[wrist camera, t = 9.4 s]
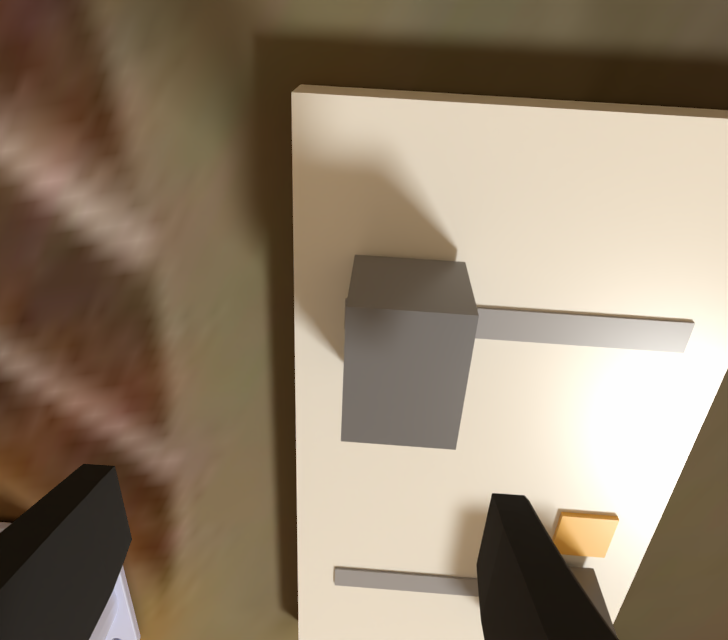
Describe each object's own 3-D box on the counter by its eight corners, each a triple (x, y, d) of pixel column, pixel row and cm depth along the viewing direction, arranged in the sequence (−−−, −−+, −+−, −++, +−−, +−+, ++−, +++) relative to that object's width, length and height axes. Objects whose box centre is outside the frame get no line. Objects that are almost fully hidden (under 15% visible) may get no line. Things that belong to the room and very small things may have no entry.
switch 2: (495, 625, 23) (507, 705, 20) (513, 562, 21) (529, 641, 18) (568, 631, 23) (590, 712, 20) (593, 568, 21) (621, 648, 18)
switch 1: (349, 374, 17) (340, 441, 15) (354, 254, 15) (345, 306, 13) (446, 382, 17) (455, 450, 15) (465, 261, 15) (479, 315, 13)
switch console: (303, 625, 27) (298, 662, 25) (300, 84, 15) (289, 93, 13) (577, 648, 26) (588, 686, 25) (796, 114, 15) (842, 127, 13)
